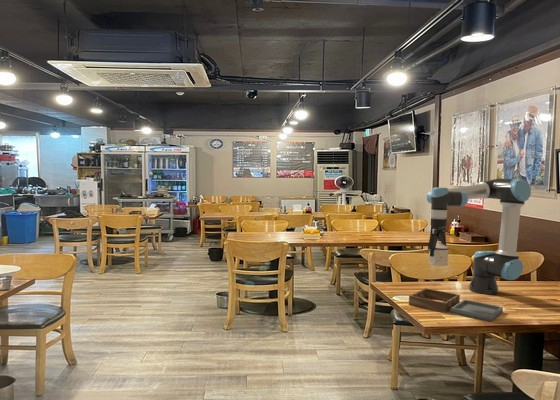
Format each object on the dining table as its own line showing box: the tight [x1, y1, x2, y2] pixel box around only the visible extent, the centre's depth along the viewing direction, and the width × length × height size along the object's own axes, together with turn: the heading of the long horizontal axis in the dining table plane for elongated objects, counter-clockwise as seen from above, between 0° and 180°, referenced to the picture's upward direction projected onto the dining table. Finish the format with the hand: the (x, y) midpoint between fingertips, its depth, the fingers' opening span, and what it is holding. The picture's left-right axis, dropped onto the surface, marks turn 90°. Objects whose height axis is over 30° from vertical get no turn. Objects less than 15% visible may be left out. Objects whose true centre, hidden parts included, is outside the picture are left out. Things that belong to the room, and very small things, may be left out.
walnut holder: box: [408, 287, 461, 314], centre depth 217 cm, size 21×18×4 cm
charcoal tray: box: [450, 299, 504, 323], centre depth 205 cm, size 20×18×2 cm
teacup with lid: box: [428, 241, 450, 267], centre depth 215 cm, size 12×9×12 cm
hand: (436, 261), depth 216 cm, fingers closed on teacup with lid, 11 cm apart
